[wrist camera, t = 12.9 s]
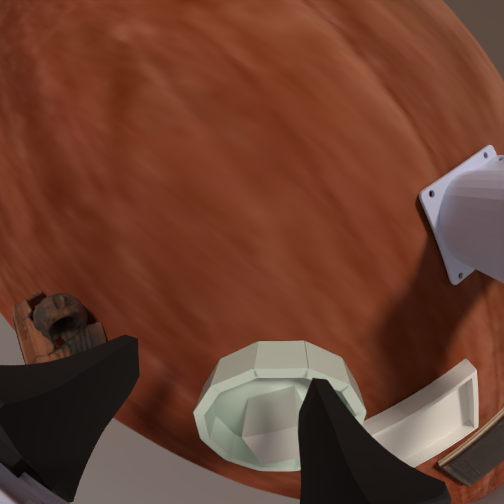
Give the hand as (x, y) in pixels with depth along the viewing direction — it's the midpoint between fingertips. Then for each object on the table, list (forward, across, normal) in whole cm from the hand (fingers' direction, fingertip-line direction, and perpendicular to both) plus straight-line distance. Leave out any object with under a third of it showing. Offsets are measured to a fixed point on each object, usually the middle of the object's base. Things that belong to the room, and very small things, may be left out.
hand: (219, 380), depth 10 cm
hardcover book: (+10, -45, +22) cm, 51 cm away
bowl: (+9, -4, +9) cm, 14 cm away
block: (+9, -4, +9) cm, 14 cm away
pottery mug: (+10, +16, +7) cm, 20 cm away
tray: (+9, -21, +12) cm, 26 cm away
